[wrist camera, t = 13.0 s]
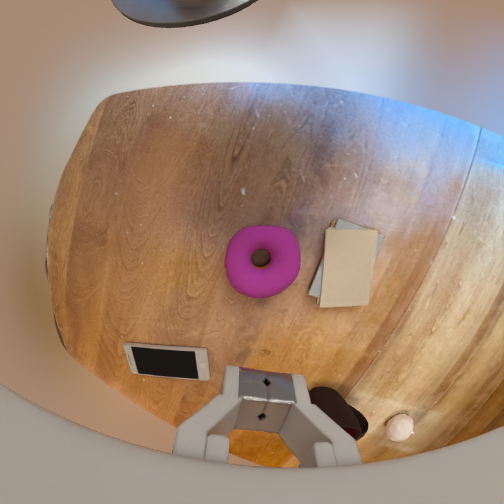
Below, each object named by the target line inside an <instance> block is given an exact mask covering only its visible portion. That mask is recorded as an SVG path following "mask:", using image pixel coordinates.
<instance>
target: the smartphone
mask: <svg viewBox="0 0 504 504" xmlns="http://www.w3.org/2000/svg"><path fill="white" fill-rule="evenodd" d="M123 347H124V350H125V354H126V357H127V360H128V364H129V367H130V370H131V373H133V374H140V375H148V376H157V377H167V378H178V379H192V380H210V369H209V360H208V351H207V348H198V347H179V346H165V345H152V344H141V343H131V342H125V343H124V345H123Z"/></svg>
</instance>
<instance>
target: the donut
mask: <svg viewBox="0 0 504 504" xmlns="http://www.w3.org/2000/svg"><path fill="white" fill-rule="evenodd" d="M257 249H266V250H267V251H268V252H269V253H270V256H271V261H270V262H269V263H268V264H267V265H265V266H262V267H256V266H254V265H253V264H252V263H251V256H252V254H253V252H254V251H256V250H257ZM300 261H301V260H300V249H299V245H298V242H297V240H296V238H295V236H294V235H293V233H291V232H290V231H289V230H288V229H286V228H283V227H278V226H268V225H255V226H249V227H245V228H243V229H241V230H240V231H238V232H237V233H236V234H235V235H234V236H233V238H232V239H231V241H230V243H229V245H228V247H227V251H226V256H225V268H226V274H227V278H228V280H229V282H230V284H231V286H232V287H233V288H234V289H235V290H237V291H238V292H239V293H241V294H244V295H246V296H249V297H253V298H266V297H270V296H274V295H276V294H278V293H280V292H282V291H284V290H285V289H286V288H288V287H289V286H290V285H291V284H292V283H293V281H294V280H295V279H296V277H297V275H298V273H299V270H300Z"/></svg>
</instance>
